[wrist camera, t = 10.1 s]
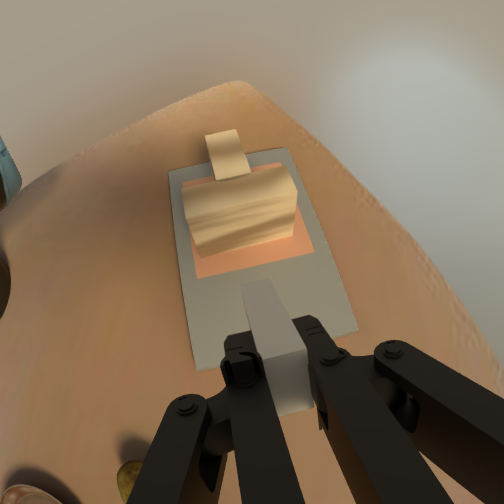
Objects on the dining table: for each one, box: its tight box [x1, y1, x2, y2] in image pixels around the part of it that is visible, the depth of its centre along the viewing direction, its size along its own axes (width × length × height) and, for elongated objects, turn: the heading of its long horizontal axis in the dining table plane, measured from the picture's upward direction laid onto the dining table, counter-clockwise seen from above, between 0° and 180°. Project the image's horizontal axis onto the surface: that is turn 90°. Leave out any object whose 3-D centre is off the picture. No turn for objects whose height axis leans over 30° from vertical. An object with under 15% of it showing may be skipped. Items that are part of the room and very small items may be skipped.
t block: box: [181, 129, 298, 258], centre depth 40 cm, size 12×12×9 cm
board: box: [168, 147, 359, 372], centre depth 43 cm, size 30×19×2 cm, turn 13°
